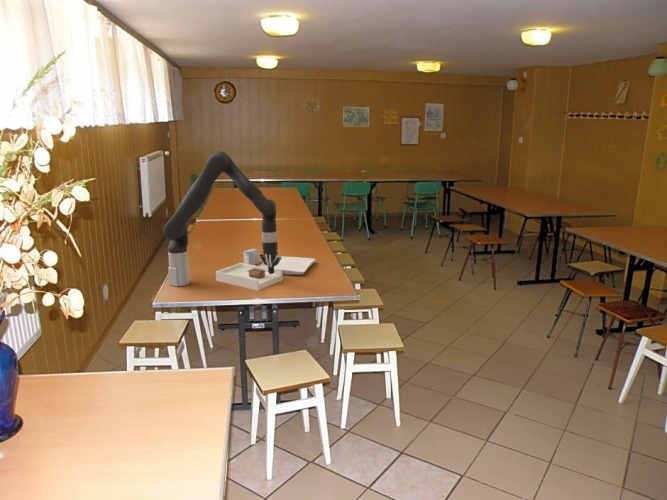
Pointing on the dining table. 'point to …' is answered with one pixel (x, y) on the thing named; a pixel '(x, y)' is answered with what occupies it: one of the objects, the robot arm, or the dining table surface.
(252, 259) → the medicine box
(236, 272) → the box
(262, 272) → the walnut block
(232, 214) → the dining table surface
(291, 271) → the square plate
